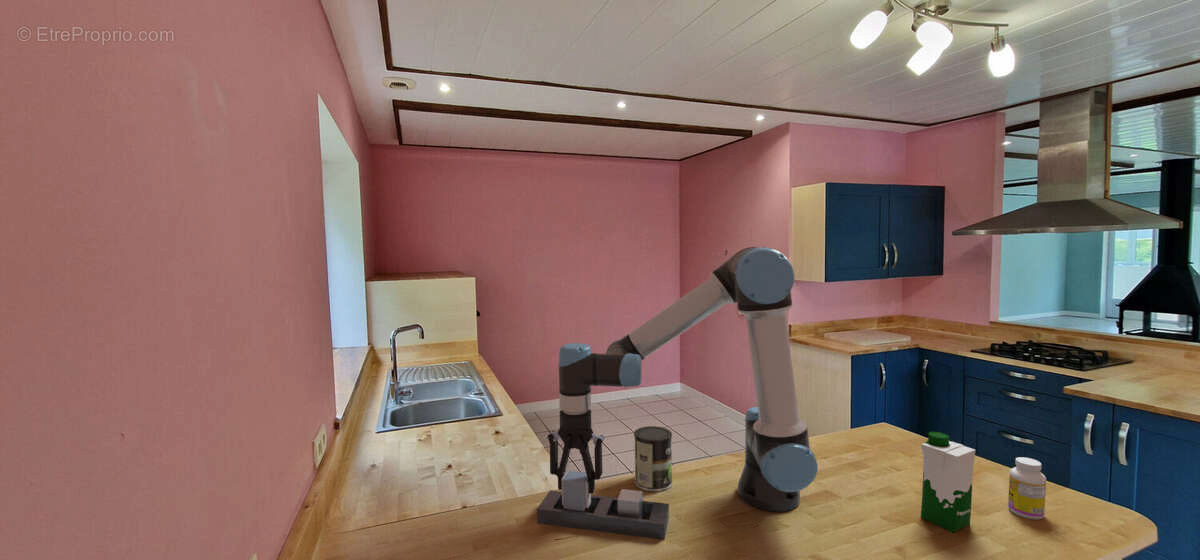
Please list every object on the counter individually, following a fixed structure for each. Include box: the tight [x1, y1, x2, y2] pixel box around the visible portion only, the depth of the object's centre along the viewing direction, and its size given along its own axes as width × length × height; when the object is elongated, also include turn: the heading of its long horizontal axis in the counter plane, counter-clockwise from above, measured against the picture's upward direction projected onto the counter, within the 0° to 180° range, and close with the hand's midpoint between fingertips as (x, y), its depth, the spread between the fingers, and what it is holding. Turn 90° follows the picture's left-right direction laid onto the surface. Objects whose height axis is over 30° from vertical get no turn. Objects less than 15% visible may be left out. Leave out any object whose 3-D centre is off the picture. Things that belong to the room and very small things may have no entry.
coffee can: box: [633, 425, 673, 493], centre depth 135 cm, size 10×10×14 cm
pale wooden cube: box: [617, 488, 644, 520], centre depth 116 cm, size 5×5×7 cm
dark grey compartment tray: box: [536, 490, 670, 541], centre depth 117 cm, size 30×9×4 cm, turn 76°
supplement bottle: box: [1007, 456, 1047, 520], centre depth 118 cm, size 7×7×13 cm
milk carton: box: [920, 431, 976, 533], centre depth 115 cm, size 9×9×20 cm
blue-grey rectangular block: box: [563, 470, 587, 512], centre depth 119 cm, size 5×5×7 cm
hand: (576, 503), depth 119 cm, fingers closed on blue-grey rectangular block, 5 cm apart
